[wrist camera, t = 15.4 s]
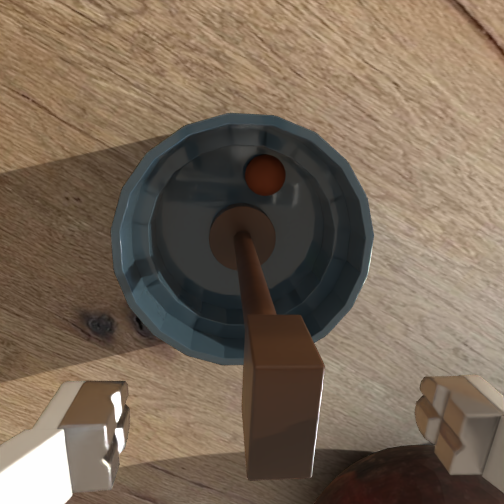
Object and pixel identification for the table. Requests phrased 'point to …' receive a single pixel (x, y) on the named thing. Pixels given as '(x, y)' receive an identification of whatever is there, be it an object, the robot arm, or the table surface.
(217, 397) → the table surface
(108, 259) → the table surface
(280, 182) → the ball
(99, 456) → the robot arm
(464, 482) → the jug
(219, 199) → the bowl
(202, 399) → the table surface
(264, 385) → the brown wooden masher
